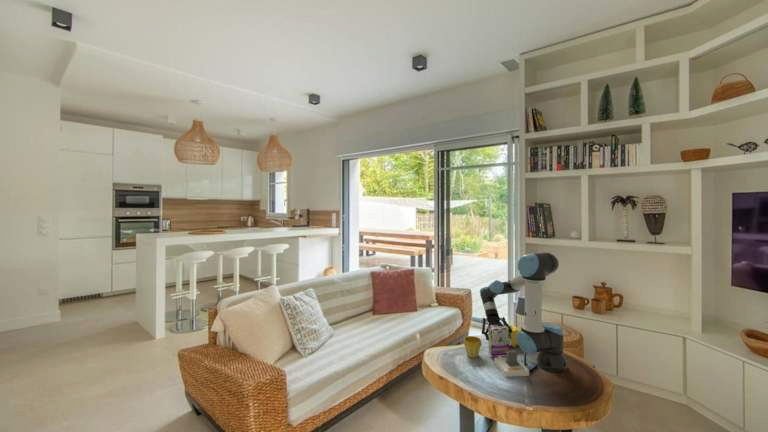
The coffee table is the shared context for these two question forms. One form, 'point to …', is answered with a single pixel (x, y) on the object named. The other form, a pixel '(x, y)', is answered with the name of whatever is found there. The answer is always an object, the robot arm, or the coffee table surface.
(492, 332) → the candy bar box
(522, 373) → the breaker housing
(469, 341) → the plant pot
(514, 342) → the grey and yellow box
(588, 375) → the coffee table surface
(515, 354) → the block
